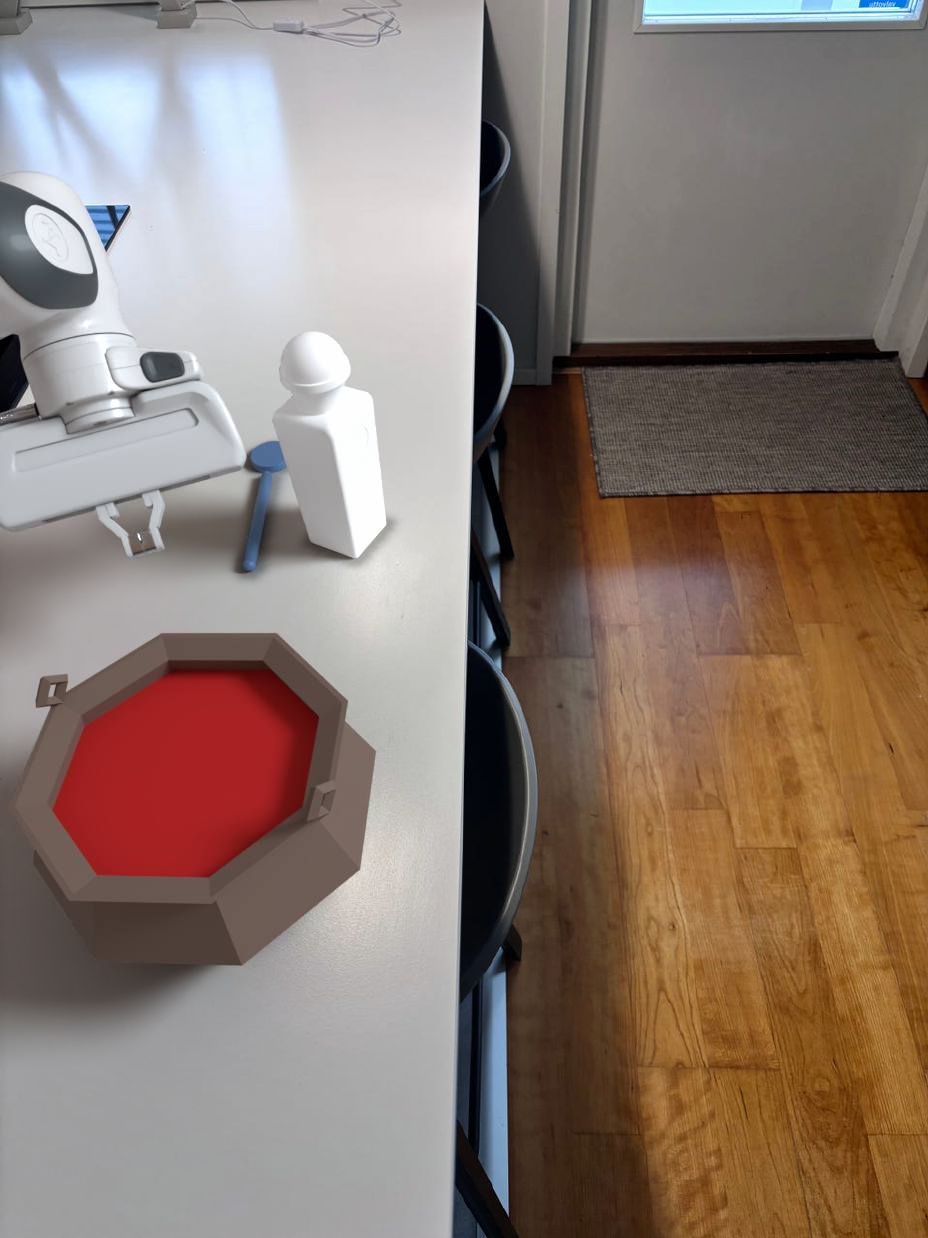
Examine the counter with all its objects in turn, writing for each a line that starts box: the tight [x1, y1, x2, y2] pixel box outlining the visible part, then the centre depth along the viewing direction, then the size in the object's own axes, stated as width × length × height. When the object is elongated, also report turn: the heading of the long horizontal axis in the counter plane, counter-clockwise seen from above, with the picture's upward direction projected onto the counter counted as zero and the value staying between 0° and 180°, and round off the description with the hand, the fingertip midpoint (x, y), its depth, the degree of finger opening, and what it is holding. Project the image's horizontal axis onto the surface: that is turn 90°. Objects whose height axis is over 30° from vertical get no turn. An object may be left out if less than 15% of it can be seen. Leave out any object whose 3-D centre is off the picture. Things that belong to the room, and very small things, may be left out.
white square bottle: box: [272, 330, 387, 559], centre depth 85 cm, size 6×6×22 cm
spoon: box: [242, 440, 287, 572], centre depth 97 cm, size 19×4×1 cm, turn 1°
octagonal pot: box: [7, 632, 377, 967], centre depth 65 cm, size 24×24×16 cm
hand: (146, 554), depth 77 cm, fingers closed
